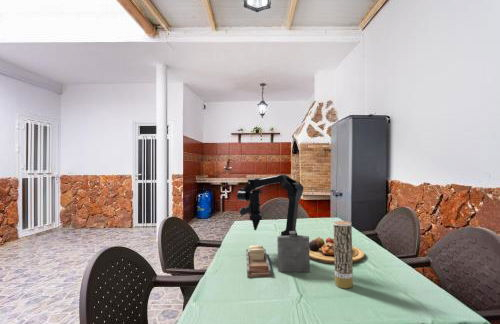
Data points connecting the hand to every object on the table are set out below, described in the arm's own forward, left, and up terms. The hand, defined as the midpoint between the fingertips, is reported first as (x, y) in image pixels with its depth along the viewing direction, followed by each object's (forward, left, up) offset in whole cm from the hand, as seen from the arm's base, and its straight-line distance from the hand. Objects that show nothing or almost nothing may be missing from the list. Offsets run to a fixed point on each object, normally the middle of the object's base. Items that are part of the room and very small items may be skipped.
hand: (255, 230), depth 149 cm
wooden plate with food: (-22, -35, -14) cm, 44 cm away
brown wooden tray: (-13, +7, -13) cm, 20 cm away
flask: (-29, -3, -13) cm, 32 cm away
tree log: (-51, -11, -13) cm, 54 cm away
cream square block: (-8, +4, -12) cm, 15 cm away
